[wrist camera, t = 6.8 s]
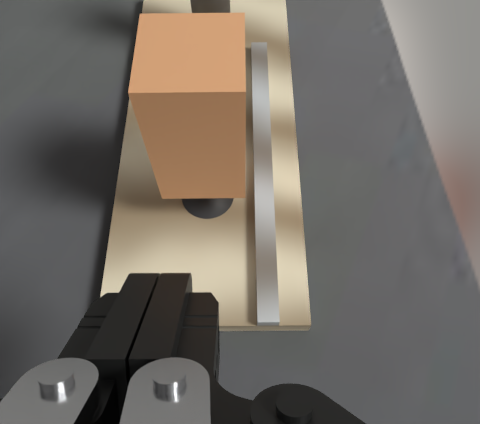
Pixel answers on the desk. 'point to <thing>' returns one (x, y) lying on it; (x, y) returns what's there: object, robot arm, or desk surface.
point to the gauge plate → (226, 209)
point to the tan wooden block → (192, 102)
